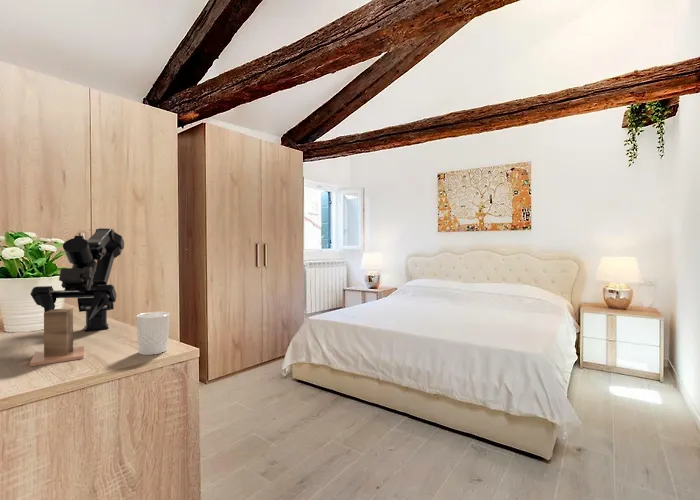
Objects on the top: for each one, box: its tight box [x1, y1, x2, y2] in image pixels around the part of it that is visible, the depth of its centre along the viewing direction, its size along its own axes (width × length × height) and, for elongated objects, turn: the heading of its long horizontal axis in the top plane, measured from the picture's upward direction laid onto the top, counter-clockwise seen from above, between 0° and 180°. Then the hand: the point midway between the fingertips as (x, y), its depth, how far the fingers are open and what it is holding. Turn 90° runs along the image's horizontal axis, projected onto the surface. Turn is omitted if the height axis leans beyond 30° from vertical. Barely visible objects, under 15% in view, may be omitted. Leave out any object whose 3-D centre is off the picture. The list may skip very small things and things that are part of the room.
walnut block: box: [43, 308, 74, 357], centre depth 89 cm, size 4×4×11 cm
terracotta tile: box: [29, 345, 85, 367], centre depth 89 cm, size 10×10×1 cm
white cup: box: [135, 311, 171, 356], centre depth 94 cm, size 8×8×10 cm
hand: (68, 320), depth 95 cm, fingers open, 9 cm apart
